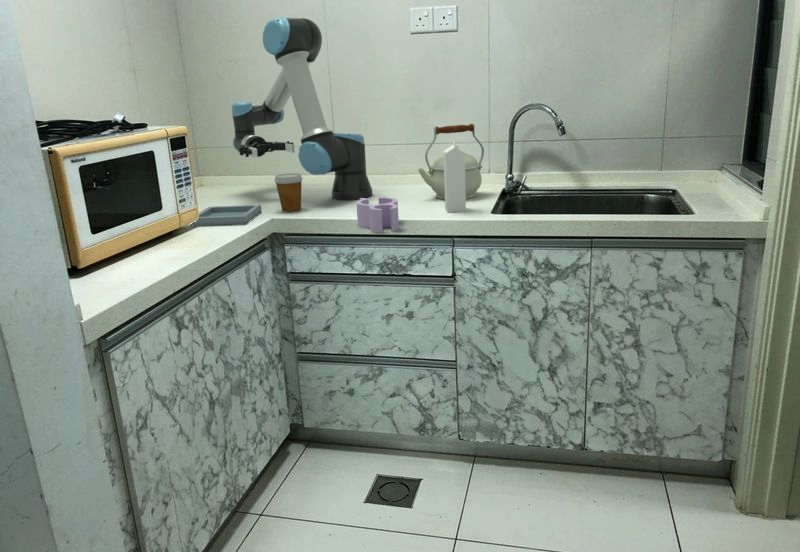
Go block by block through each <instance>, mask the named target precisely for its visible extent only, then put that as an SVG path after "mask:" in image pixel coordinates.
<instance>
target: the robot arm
mask: <svg viewBox="0 0 800 552" xmlns="http://www.w3.org/2000/svg"><path fill="white" fill-rule="evenodd" d="M262 44H263V48H264V49H265V51H266V52H267V53H268V54H270V55H273V56H274V60H275V61H276V64H277V65H278V66H281V67H282V69H281V70H280V72H279V74H278V75H277V77H276V79H275V81H274V83H273V85H272V87H271V88H270V90H269V92H268V94H267V96H266V97H265V99H264V101H263V102H262V104H261V105H252V102H251V101H235V102H233V103H232V104H231V115H232V120H233V128H234V137H233V140H232V146H233V148H234V150H236V151H237V152H238V153H239V156H244V155H245V158H250V156H251V157H252V158H254V157H255V158H261V157H262V156H264V155H265V154H266V153H272V152H274V151H285V152H288V153H292V154H293V153H296V152H295V151H296V150H295V144H294V142H292V141H291V142H290V141H289V140H288V141H285V142H284V141H283V142H282V141H280V142H279V141H274V142H273V141H266V140H265V138H264V137H262V136H259V135H256V134H255V127H257V126H258V127H259V126H266V125H276V124H278V123H281V122H282V121H283V120H284V116H285V112H284V111H285V110H284V108H285V106H286V104H287V102H288V100H289V99H290V98H292V103H293V106H294V108H295V112H296V115H297V119H298V121H299V125H300V127H301V131H302V137H301V138H300V142H301V145H300V146H299V149H298V151H299V152H298V159H299V163H300V165H301V166H302V168H303V169H304V170H305V171H306V172H308V173H309V174H310V175H314V176H319V175H322V176H323V175H326V174H329V173H334V180H333V183H332V187H331V198H332V199H336V200H360V198H371V197H372V196H373V187H372V185H371V182H370V179H369V178H368V175H367V163H366V143H365V138H364V135H363V134H361V133H345V132H343V133H341V132H340V133H339V132H337V133H336V132H333V130H332V129H331V128H329V127H328V126H327V124H326V120H325V117H324V113H323V110H322V106H321V104H320V100H319V97H318V94H317V90H316V87H315V84H314V81H313V77H312V74H311V71H310V66H309V65H310V64H312V63H314V62H315V61H316V59H317V57H318V56H319V53H320V51H321V49H322V45H323V36H322V32H321V30H320V27H318V24H317V23H315V22H314V21H313V20H311V19H310V18H309V19H308V18H305V17H303V18H302V17H301V18H298V17H297V18H294V17H285V16H284V17H283V16H282V17H275V18H271V19H269V20H268V21H267V23H265V26H264V29H263V31H262Z"/></svg>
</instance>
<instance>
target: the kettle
mask: <svg viewBox="0 0 800 552" xmlns="http://www.w3.org/2000/svg"><path fill="white" fill-rule="evenodd" d="M464 132H470V133H472V137H473V139H474V140H475V141H476V142H477V144H479V146H480V148H481V155H480V158H479V162H478V160H477V159H476V158H475V157H474V156H473V155H471V154H468V153H465V195H466V200H468V199H472V198H474V197H476V195H477V194H476V193H477V191H478V190H479V189H480V188H481V185H482V181H483V180H482V174H481V169H482V168H483V165H481V164H482V162H483V160H484V157H485V156H484V155H485V149H484V148H485V147H484V145H483V144H482V143H481V141H480V140H479V139H478V137H476V134H475V133H476V132H475V124H474V123H469V124H456V125H446V126H441V127H439V126H434V127H433V133H434V134H433V136H434V137H433V140H432V141H431V142H430V144H429V146H428V147H427V149H426V150H425V152H424V153H425V154H424V158H425V162H426V165H427V167H428V169H429V170H428V171H427V172H426V170H425V169H424V168H422V167H421V168H418V169H417V171H418V172H419V175H420V176H421V178H422V179H423V181H424V182H425V183H426V185H428V186H429V187H431V189H432V191H433V192H434V193H435V195H436V196H435V197H436V198H437V199H440V200H444V201H445V183H444V154H441V155H440V156H438V157H436V158H435V160H434V161H433V162H432V165H430V163H429V160H428V154H429V151H430V149H431V148H432V146H433V145H434V143H435V142H436V140H437V135H440V134H454V133H464ZM455 146H456V147H457V148H459V149H461V148H460V147H458V146H457V145H455Z"/></svg>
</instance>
